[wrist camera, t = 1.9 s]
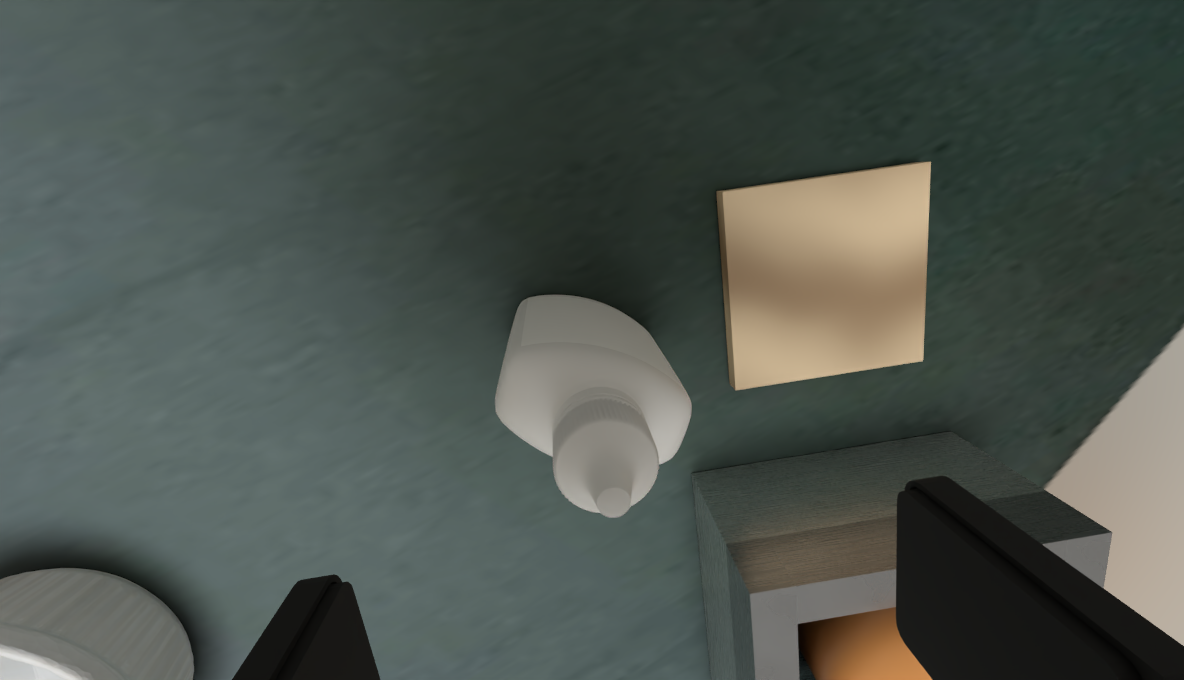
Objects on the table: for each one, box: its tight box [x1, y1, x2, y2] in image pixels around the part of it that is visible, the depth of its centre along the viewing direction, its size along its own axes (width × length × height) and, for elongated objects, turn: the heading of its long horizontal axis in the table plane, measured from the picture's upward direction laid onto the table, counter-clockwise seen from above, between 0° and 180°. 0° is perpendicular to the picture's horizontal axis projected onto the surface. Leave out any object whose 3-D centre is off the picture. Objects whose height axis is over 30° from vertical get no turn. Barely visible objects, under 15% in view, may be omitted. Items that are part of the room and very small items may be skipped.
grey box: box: [691, 431, 1112, 680], centre depth 23 cm, size 12×12×8 cm
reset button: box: [798, 607, 933, 680], centre depth 21 cm, size 6×6×6 cm
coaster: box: [716, 162, 931, 390], centre depth 22 cm, size 8×8×1 cm
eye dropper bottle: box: [495, 295, 692, 518], centre depth 17 cm, size 4×6×12 cm
